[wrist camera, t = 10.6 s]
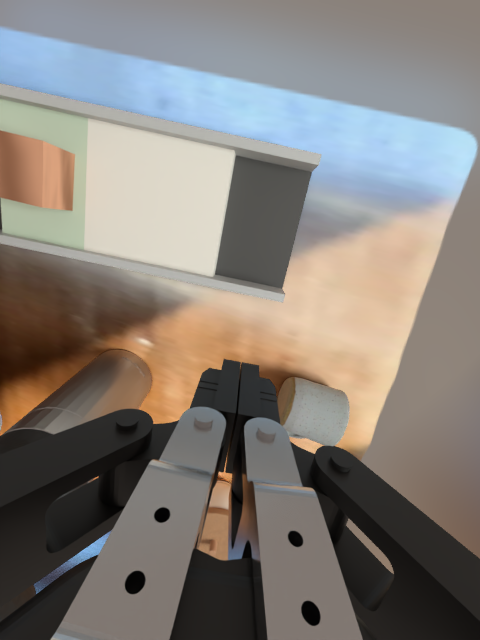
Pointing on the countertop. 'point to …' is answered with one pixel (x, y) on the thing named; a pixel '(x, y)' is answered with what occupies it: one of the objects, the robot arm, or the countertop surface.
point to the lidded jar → (217, 523)
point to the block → (36, 172)
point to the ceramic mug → (313, 411)
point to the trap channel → (182, 199)
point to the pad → (73, 138)
